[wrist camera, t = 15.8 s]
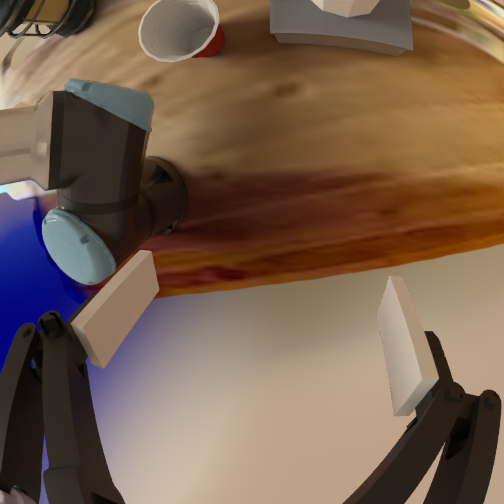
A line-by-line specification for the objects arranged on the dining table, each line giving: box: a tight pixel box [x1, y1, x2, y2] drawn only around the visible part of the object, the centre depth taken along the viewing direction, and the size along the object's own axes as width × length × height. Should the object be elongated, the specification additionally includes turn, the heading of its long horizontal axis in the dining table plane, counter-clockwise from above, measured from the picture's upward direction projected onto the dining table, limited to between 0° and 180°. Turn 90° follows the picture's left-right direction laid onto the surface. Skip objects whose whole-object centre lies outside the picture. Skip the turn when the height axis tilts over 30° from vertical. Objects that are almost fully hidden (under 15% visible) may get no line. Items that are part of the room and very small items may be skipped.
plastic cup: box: [138, 0, 225, 62], centre depth 29 cm, size 11×11×12 cm
